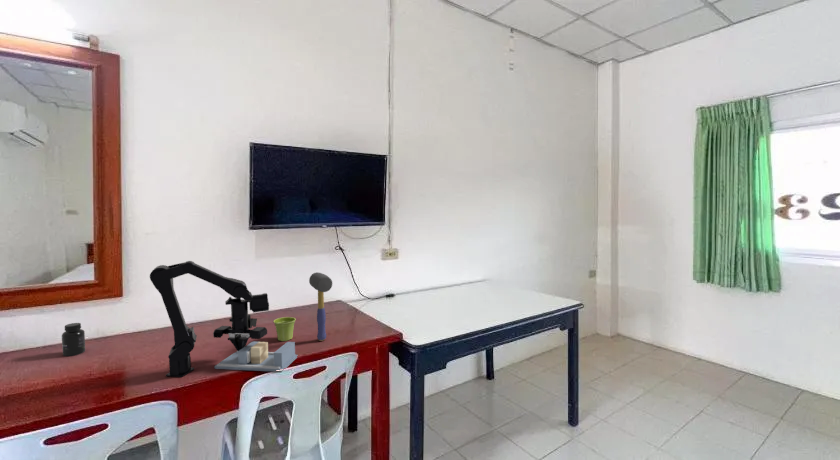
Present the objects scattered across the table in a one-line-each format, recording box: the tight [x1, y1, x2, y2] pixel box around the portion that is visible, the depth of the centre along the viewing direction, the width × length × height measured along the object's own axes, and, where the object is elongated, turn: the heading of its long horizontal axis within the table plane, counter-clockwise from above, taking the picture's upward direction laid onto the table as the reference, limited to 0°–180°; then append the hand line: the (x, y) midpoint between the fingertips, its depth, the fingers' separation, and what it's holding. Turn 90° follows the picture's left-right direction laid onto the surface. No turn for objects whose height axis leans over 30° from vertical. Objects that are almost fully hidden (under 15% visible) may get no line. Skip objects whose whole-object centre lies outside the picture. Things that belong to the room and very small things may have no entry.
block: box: [251, 341, 269, 364], centre depth 142 cm, size 6×4×6 cm, turn 174°
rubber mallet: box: [308, 272, 333, 342], centre depth 165 cm, size 12×8×30 cm, turn 33°
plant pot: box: [273, 316, 297, 342], centre depth 167 cm, size 9×9×9 cm
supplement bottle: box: [61, 322, 86, 357], centre depth 151 cm, size 7×7×12 cm
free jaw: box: [238, 340, 259, 365], centre depth 142 cm, size 10×4×5 cm, turn 174°
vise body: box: [214, 341, 298, 372], centre depth 142 cm, size 13×26×6 cm, turn 84°
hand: (241, 354), depth 143 cm, fingers closed
